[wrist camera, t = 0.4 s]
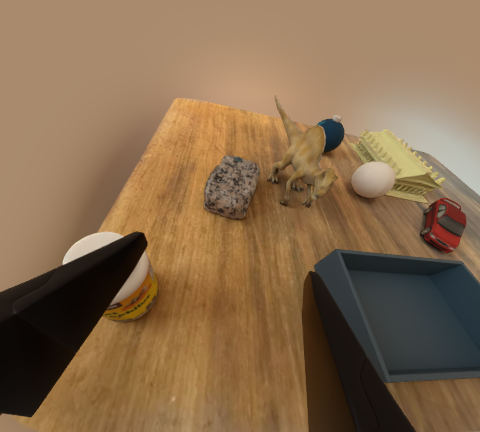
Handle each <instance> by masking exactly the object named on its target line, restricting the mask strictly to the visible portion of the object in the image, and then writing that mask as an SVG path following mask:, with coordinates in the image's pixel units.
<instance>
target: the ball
mask: <svg viewBox="0 0 480 432" xmlns="http://www.w3.org/2000/svg"><path fill="white" fill-rule="evenodd" d="M395 179H396V176H395V172H394V170H393V169H392V168H391V167H390V166H389V165H388V164H386V163H383V162H369V163H366V164H364V165H362V166H360V167H359V168H358V169H357V170H356V171H355V173H354V174H353V176H352V180H351V184H352V187H353V189H354V191H355V192H356V193H357V194H358V195H360V196H362V197H367V198H375V197H379V196H382V195H384V194H386V193H387V192H389V191H390V190H391V188H392V187H393V185H394V183H395Z"/></svg>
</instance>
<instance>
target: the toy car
mask: <svg viewBox="0 0 480 432" xmlns="http://www.w3.org/2000/svg"><path fill="white" fill-rule="evenodd" d="M443 199H447V200H449V201H451V202H453V203H455V204H456V205H458V204H457V203H456V202H454V201H452V200H450V199H448V198H441V199H439V200H437V201H436V202H434V203H433V204H431V205H430V206H429V208H428V209H427V210H426V211H425V212H424V214H425V215H427V216H426V223H425V229H424V230H423V231H422V232H421V233H420V234H421V235H422V236H424V239H426V240H427V241H428V242H430V243H431V244H433V245H434V246H436V247H437V248H439V249H440V250H442V251H444V252H446V253H449V252H452V251H453V250H454V249H455V248H456V247H457V246H458V245H459V242H460V238H461V236H462V233H463V231H464V228H465V226H466V216H465V214H464V213H463V212H462V211H461V206H460V205H458V206H459V207H460V209H458V208H456V207H455V206H453V205H452V204H450V203H448V202H446V201H444V200H443ZM427 227H428V228H427Z"/></svg>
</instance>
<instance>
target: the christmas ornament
mask: <svg viewBox="0 0 480 432" xmlns="http://www.w3.org/2000/svg"><path fill="white" fill-rule="evenodd" d="M341 119H342V118H341V117H340V116H337V115H335V116H334V118H333V119H326V120H323V121H321V122H319V123H318V124H317V125H320V126H322V127H323V129H324V131H325V136H326V140H325V141H326V143H325V147H324V151H323V152H329V151H332V150H334V149H335V148H337V147H338V146H339V145H340V144H341V142H342V140H343V138H344V128H343V126H342V124H341V123H340V121H341ZM317 125H316V126H317Z"/></svg>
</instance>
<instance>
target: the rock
mask: <svg viewBox="0 0 480 432" xmlns="http://www.w3.org/2000/svg"><path fill="white" fill-rule="evenodd" d="M259 174H260V168H259V166H258V165H257V164H256V163H255V162H252V161H247V160H245V159H242V158H240V157H234V156H224V157H223V159H222V161H221V163H220V165H217V167H215V169H214V170H213V171H212V172H211V174H210V177H209V179H208V180H207V182H206V186H205V190H204V194H205V202H204V208H205V209H206V210H207V211H209V212H211V213H215V214H218V215H221V216H224V217H229V218H233V219H238V220H240V219H242V218H244V217H246V211H247V208H248V205H249V203H250V201H251V199H252V196H253V195H254V192H255V190H256V186H257V183H258V180H259Z"/></svg>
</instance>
